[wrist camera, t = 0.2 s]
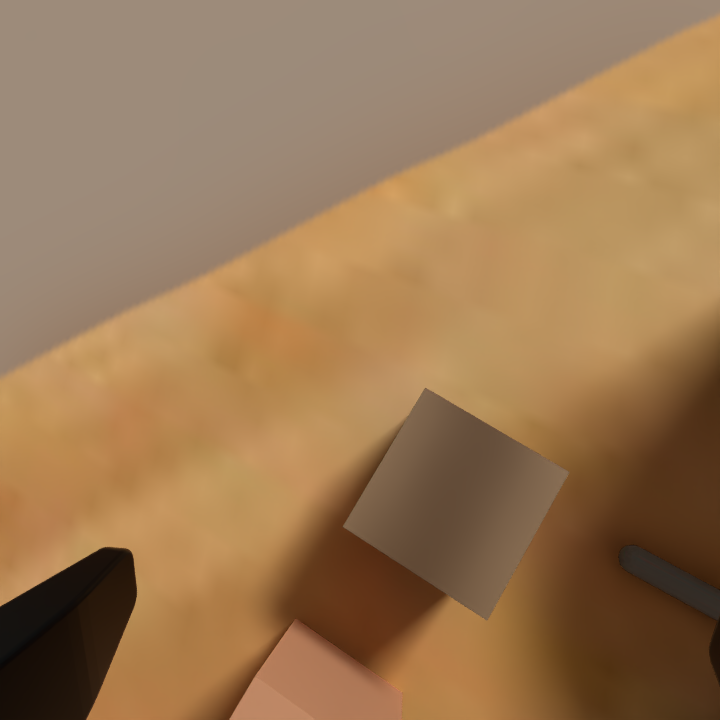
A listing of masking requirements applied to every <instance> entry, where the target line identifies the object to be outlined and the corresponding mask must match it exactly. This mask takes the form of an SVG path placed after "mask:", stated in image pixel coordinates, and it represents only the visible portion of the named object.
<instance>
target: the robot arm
mask: <svg viewBox="0 0 720 720" xmlns="http://www.w3.org/2000/svg"><path fill="white" fill-rule="evenodd" d="M136 597H137V586H136V577H135V568H134V559H133V554H132V552H131V551H130V550H128V549H126V548H115V547H104V548H101V549H99V550H98V551H96V552H94V553H92V554H91V555H89V556H87V557H85V558H84V559H82V560H80V561H78V562H77V563H75V564H73V565H71V566H70V567H68V568H66V569H65V570H63V571H61V572H59V573H58V574H56V575H54V576H52V577H51V578H49V579H47V580H45V581H44V582H42V583H40V584H39V585H37V586H35V587H33V588H32V589H30V590H28V591H26V592H25V593H23V594H21V595H19V596H18V597H16V598H14V599H13V600H11V601H9V602H7V603H6V604H4V605H2V606H0V720H86V719H87V717H88V715H89V713H90V711H91V709H92V707H93V705H94V703H95V700H96V698H97V696H98V693H99V691H100V689H101V686H102V684H103V682H104V679H105V677H106V674H107V672H108V669H109V667H110V665H111V662H112V660H113V657H114V655H115V652H116V650H117V647H118V645H119V643H120V640H121V638H122V635H123V633H124V630H125V628H126V625H127V623H128V621H129V618H130V616H131V613H132V611H133V608H134V606H135V602H136ZM709 655H710V660H711V664H712V667H713V669H714V672H715V675H716V677H717V680H718V683H719V685H720V615H719V618H718V621H717V624H716V627H715V630H714V633H713V636H712V639H711V642H710V647H709Z"/></svg>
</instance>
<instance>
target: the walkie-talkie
mask: <svg viewBox="0 0 720 720" xmlns="http://www.w3.org/2000/svg"><path fill="white" fill-rule="evenodd" d="M618 558H619V562H620V565H621V566H622V567H623V569H624V570H625V571H627V572H629V573H631V574H633V575H635V576H636V577H638V578H640V579H642V580H644V581H646V582H647V583H649V584H651V585H653V586H655V587H657V588H658V589H660V590H662V591H664V592H666V593H668V594H669V595H671V596H673V597H675V598H677V599H678V600H680V601H682V602H684V603H686V604H688V605H689V606H691V607H693V608H695V609H697V610H699V611H700V612H702V613H704V614H706V615H708V616H710V617H711V618H713V619H715V620H717V621H718V618H719V615H720V590H718V589H716V588H715V587H713V586H711V585H709V584H707V583H705V582H703V581H702V580H700V579H698V578H696V577H694V576H692V575H690V574H689V573H687V572H685V571H683V570H681V569H679V568H677V567H676V566H674V565H672V564H670V563H668V562H666V561H664V560H663V559H661V558H659V557H657V556H655V555H653V554H651V553H650V552H648V551H646V550H644V549H642V548H640V547H638V546H636V545H629V546H625V547H624V548H622V549H621V550H620V552H619V557H618Z"/></svg>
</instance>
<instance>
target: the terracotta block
mask: <svg viewBox="0 0 720 720" xmlns="http://www.w3.org/2000/svg"><path fill="white" fill-rule="evenodd" d="M402 693H403V692H401V691H400V690H398V689H397V688H395V687H394V686H392V685H391V684H390V683H388V682H387V681H385V680H384V679H382V678H381V677H379V676H378V675H377V674H375V673H374V672H372V671H371V670H369V669H368V668H366V667H365V666H364V665H362V664H361V663H359V662H358V661H356V660H355V659H353V658H352V657H351V656H349V655H348V654H346V653H345V652H343V651H342V650H341V649H339V648H338V647H336V646H335V645H333V644H332V643H330V642H329V641H328V640H326V639H325V638H323V637H322V636H320V635H319V634H317V633H316V632H315V631H313V630H312V629H310V628H309V627H307V626H306V625H304V624H303V623H302V622H300V621H299V620H297V619H296V618H295V620H294V621H293V623H292V624H291V626H290V627H289V628H288V630H287V631H286V633H285V634H284V636H283V637H282V638H281V640H280V641H279V643H278V644H277V646H276V647H275V648H274V650H273V651H272V653H271V654H270V656H269V657H268V658H267V660H266V661H265V663H264V664H263V665H262V667H261V668H260V670H259V671H258V673H257V674H256V675H255V677H254V679H253V680H252V682H251V684H250V686H249V687H248V689H247V691H246V692H245V694H244V696H243V697H242V699H241V701H240V702H239V704H238V706H237V707H236V709H235V711H234V712H233V714H232V716H231V718H230V719H229V720H402Z"/></svg>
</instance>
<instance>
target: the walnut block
mask: <svg viewBox="0 0 720 720" xmlns="http://www.w3.org/2000/svg"><path fill="white" fill-rule="evenodd" d="M568 474H569V471H567V470H565V469H563V468H562V467H560V466H558V465H557V464H555V463H553V462H551V461H550V460H548V459H546V458H545V457H543V456H541V455H540V454H538V453H536V452H534V451H533V450H531V449H529V448H528V447H526V446H524V445H522V444H521V443H519V442H517V441H516V440H514V439H512V438H510V437H509V436H507V435H505V434H504V433H502V432H500V431H498V430H497V429H495V428H493V427H492V426H490V425H488V424H487V423H485V422H483V421H481V420H480V419H478V418H476V417H475V416H473V415H471V414H469V413H468V412H466V411H464V410H463V409H461V408H459V407H457V406H456V405H454V404H452V403H451V402H449V401H447V400H446V399H444V398H442V397H440V396H439V395H437V394H435V393H434V392H432V391H430V390H428V389H427V388H425V389H424V391H423V392H422V394H421V396H420V397H419V399H418V401H417V402H416V404H415V406H414V407H413V409H412V411H411V413H410V414H409V416H408V418H407V419H406V421H405V423H404V424H403V426H402V428H401V429H400V431H399V433H398V434H397V436H396V438H395V439H394V441H393V443H392V445H391V446H390V448H389V450H388V451H387V453H386V455H385V456H384V458H383V460H382V461H381V463H380V465H379V466H378V468H377V470H376V471H375V473H374V475H373V477H372V478H371V480H370V482H369V483H368V485H367V487H366V488H365V490H364V492H363V493H362V495H361V497H360V498H359V500H358V502H357V503H356V505H355V507H354V509H353V510H352V512H351V514H350V515H349V517H348V519H347V520H346V522H345V524H344V525H343V527H344V528H345V529H347V530H348V531H350V532H352V533H353V534H355V535H356V536H358V537H359V538H361V539H362V540H364V541H365V542H367V543H368V544H370V545H372V546H373V547H375V548H376V549H378V550H379V551H381V552H382V553H384V554H385V555H387V556H388V557H390V558H392V559H393V560H395V561H396V562H398V563H399V564H401V565H402V566H404V567H405V568H407V569H408V570H410V571H412V572H413V573H415V574H416V575H418V576H419V577H421V578H422V579H424V580H425V581H427V582H428V583H430V584H432V585H433V586H435V587H436V588H438V589H439V590H441V591H442V592H444V593H445V594H447V595H449V596H450V597H452V598H453V599H455V600H456V601H458V602H459V603H461V604H462V605H464V606H465V607H467V608H469V609H470V610H472V611H473V612H475V613H476V614H478V615H479V616H481V617H482V618H484V619H485V620H488V618H489V616H490V615H491V613H492V611H493V609H494V607H495V606H496V604H497V602H498V600H499V598H500V597H501V595H502V593H503V591H504V589H505V588H506V586H507V584H508V582H509V580H510V579H511V577H512V575H513V573H514V571H515V570H516V568H517V566H518V564H519V562H520V561H521V559H522V557H523V555H524V553H525V552H526V550H527V548H528V546H529V544H530V542H531V541H532V539H533V537H534V535H535V533H536V532H537V530H538V528H539V526H540V524H541V523H542V521H543V519H544V517H545V515H546V514H547V512H548V510H549V508H550V506H551V505H552V503H553V501H554V499H555V497H556V496H557V494H558V492H559V490H560V488H561V487H562V485H563V483H564V481H565V479H566V478H567V476H568Z"/></svg>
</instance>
